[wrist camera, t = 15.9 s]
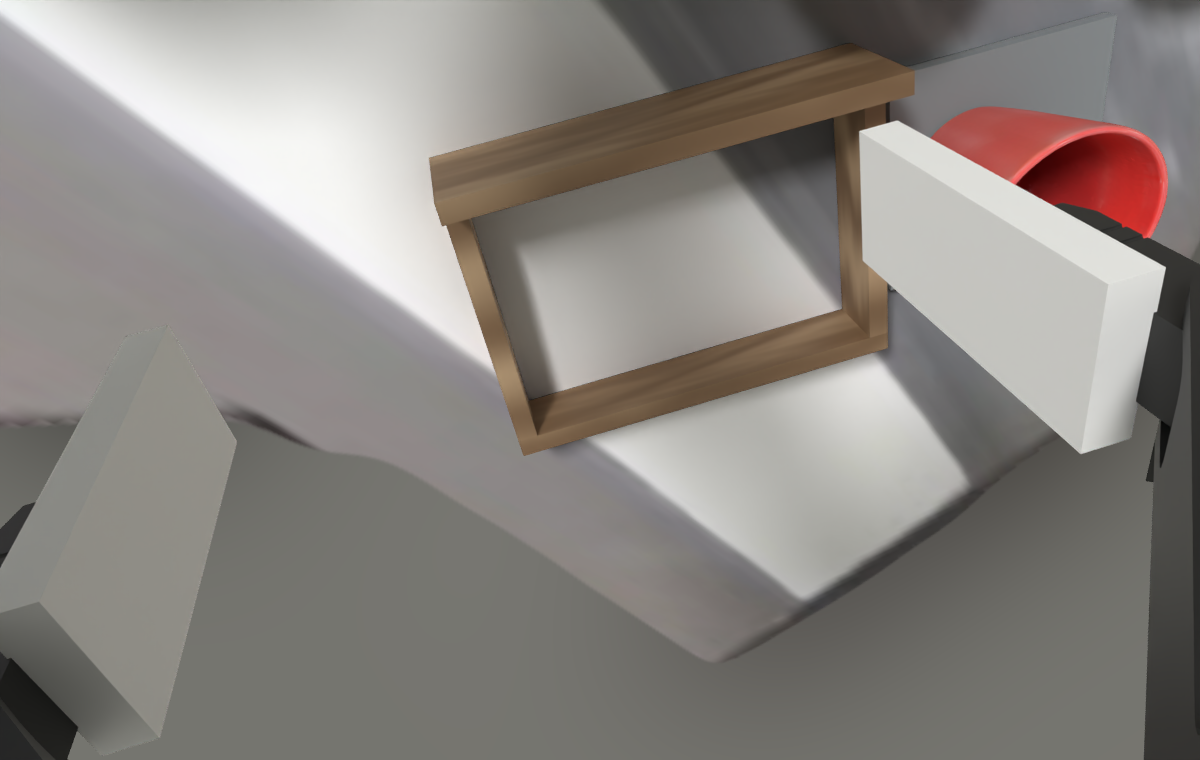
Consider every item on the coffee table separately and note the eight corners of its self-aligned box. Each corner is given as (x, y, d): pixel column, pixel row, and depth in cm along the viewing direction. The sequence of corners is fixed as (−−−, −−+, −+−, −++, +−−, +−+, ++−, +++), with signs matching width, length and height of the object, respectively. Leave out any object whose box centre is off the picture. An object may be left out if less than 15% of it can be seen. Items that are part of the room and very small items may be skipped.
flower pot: (1045, 220, 55) (1156, 284, 47) (888, 270, 55) (973, 343, 47) (1057, 57, 49) (1187, 98, 41) (881, 112, 49) (978, 164, 41)
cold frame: (429, 157, 46) (434, 203, 40) (850, 42, 47) (914, 70, 41) (515, 419, 56) (530, 486, 50) (859, 319, 57) (911, 372, 52)
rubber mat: (881, 73, 48) (889, 78, 48) (1105, 12, 49) (1117, 15, 48) (883, 284, 56) (890, 290, 55) (1076, 227, 57) (1086, 233, 56)
